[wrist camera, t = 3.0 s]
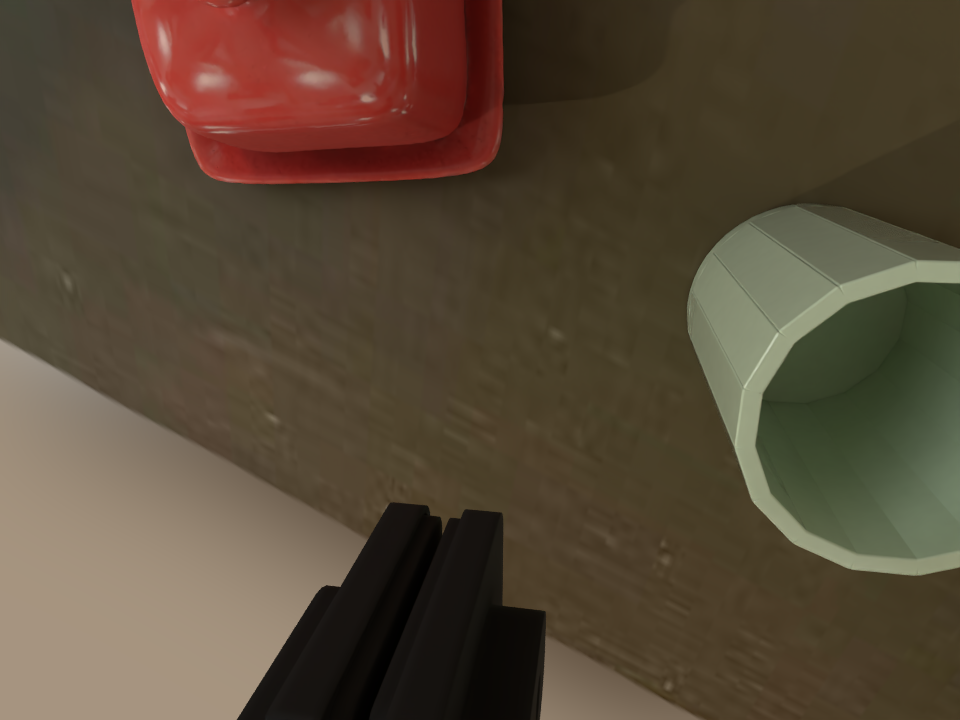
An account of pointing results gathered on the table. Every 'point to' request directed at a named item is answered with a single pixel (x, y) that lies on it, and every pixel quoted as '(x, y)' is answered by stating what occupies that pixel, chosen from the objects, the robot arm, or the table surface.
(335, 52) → the butter dish
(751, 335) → the cup
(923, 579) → the table surface
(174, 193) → the table surface
